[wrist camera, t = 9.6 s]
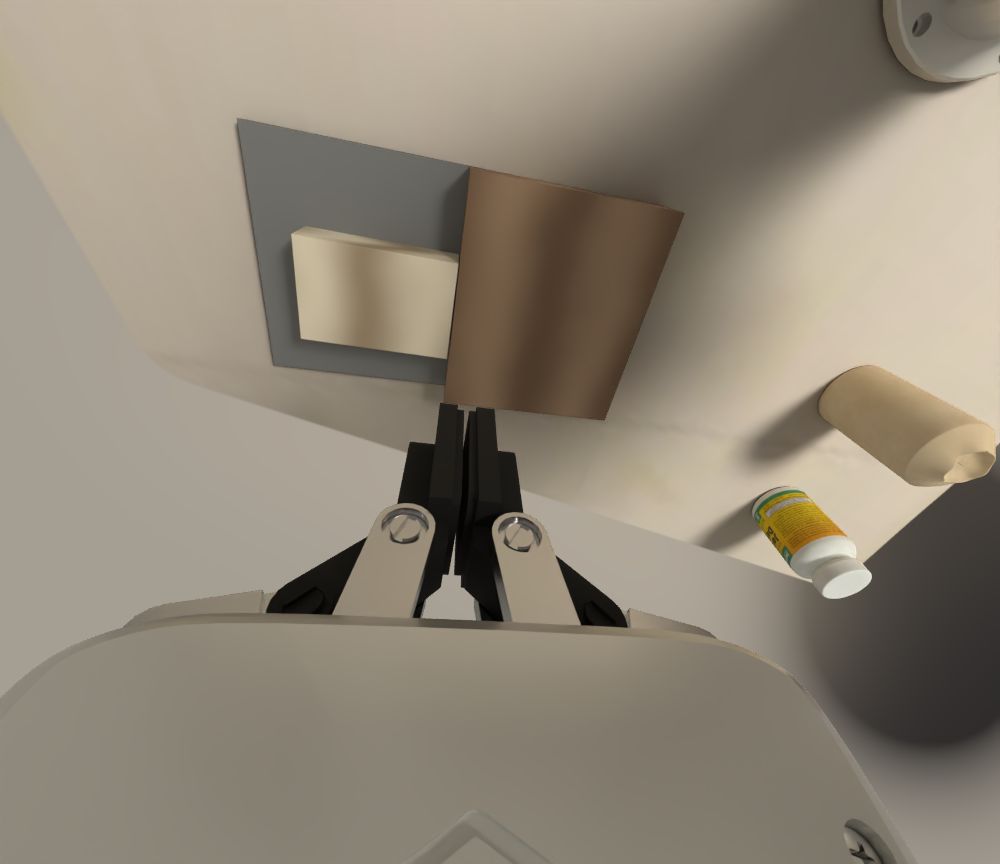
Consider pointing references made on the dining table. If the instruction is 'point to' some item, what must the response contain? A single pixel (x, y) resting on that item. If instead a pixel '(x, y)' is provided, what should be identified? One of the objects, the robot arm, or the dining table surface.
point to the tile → (373, 292)
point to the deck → (550, 294)
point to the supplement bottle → (810, 542)
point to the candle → (908, 428)
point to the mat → (343, 228)
